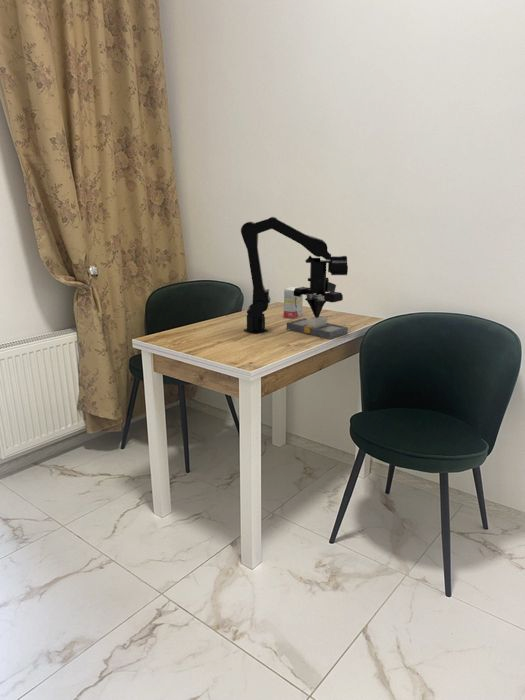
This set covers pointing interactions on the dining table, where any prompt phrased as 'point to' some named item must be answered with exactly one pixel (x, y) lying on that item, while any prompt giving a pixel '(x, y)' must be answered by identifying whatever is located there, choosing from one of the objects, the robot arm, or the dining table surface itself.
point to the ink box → (292, 303)
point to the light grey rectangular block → (316, 322)
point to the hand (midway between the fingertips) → (316, 317)
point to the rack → (318, 329)
